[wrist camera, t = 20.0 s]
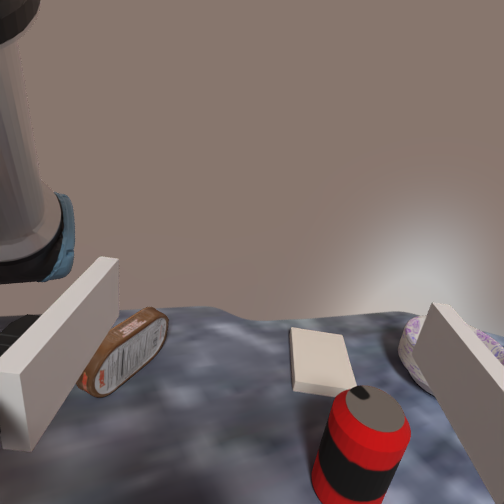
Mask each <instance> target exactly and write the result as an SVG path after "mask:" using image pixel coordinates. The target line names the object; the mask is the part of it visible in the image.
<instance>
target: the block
mask: <svg viewBox="0 0 504 504" xmlns="http://www.w3.org/2000/svg"><path fill="white" fill-rule="evenodd" d="M289 337H290V353H291V369H292V386H293V391H297V392H304V393H310V394H317V395H323V396H330V397H336V396H337V395H338V394H339V393H341V392H343V391H345V390H348V389H351V388H353V387H356V386H357V385H356V382H355V378H354V375H353V371H352V368H351V364H350V361H349V357H348V354H347V350H346V346H345V343H344V339H343V336H342V335H338V334H331V333H325V332H318V331H312V330H305V329H299V328H292V327H291V331H290V335H289Z"/></svg>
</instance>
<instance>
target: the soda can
mask: <svg viewBox="0 0 504 504" xmlns="http://www.w3.org/2000/svg"><path fill="white" fill-rule="evenodd" d="M410 437H411V430H410V426H409V423H408V421H407V419H406V417H405V415H404V412H403V410H402V408H401V406H400V405H399V404H398V402H397V401H396V400H395V399H394V398H393V397H391V396H390V395H389V394H387V393H386V392H384V391H382V390H380V389H377V388H375V387H371V386H363V385H362V386H356V387H353V388H351V389H348V390H345V391H343V392H341V393H339V394H338V395H337V396H336V398H335V400H334V402H333V405H332V408H331V411H330V414H329V418H328V421H327V424H326V427H325V431H324V434H323V437H322V440H321V443H320V447H319V450H318V453H317V456H316V459H315V463H314V466H313V470H312V483H313V487H314V490H315V492H316V494H317V496H318V498H319V499H320V501H321V502H322V503H323V504H381V503H382V501H383V498H384V496H385V494H386V492H387V490H388V487H389V485H390V483H391V481H392V479H393V476H394V474H395V472H396V470H397V467H398V465H399V463H400V461H401V459H402V456H403V454H404V452H405V450H406V448H407V445H408V443H409V441H410Z"/></svg>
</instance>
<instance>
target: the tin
mask: <svg viewBox="0 0 504 504" xmlns="http://www.w3.org/2000/svg"><path fill="white" fill-rule="evenodd" d="M168 321H169V319H168V317H167V316H166V315H165V314H163V313H161V312H159V311H157V310H156V309H155V308H153V307H146V308H144V309H142V310H140V311H139V312H137V313H136V314H134V315H132V316H131V317H129V318H128V319H126V320H125V321H123V322H121V323H120V324H118V325H117V326H115V327H113V328H112V329H110V330H109V332H108V334H107V335H106V337H105V338H104V340H103V341H102V343H101V344H100V346H99V348H98V349H97V351H96V352H95V354H94V355H93V357H92V358H91V360H90V362H89V363H88V365H87V366H86V368H85V369H84V371H83V372H82V374H81V376H80V377H79V379H78V380H77V382H76V384H77V386H78V388H79V389H81V390H84V391H86V392H87V393H89V394H90V395H92V396H94V397H105V396H107V395H109V394H111V393H112V392H114V391H115V390H116V389H117V388H119V387H120V386H121V385H122V384H124V383H125V382H126V381H127V380H128V379H130V378H131V377H132V376H133V375H134V374H136V373H137V372H138V371H139V370H140V369H142V368H143V367H144V366H145V365H146V364H148V363H149V362H150V361H151V360H152V359H153V358H154V357H155V356H156V355H157V353H158V352H159V351H160V349H161V347H162V346H163V344H164V342H165V339H166V336H167V330H168Z"/></svg>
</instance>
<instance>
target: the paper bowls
mask: <svg viewBox="0 0 504 504" xmlns="http://www.w3.org/2000/svg"><path fill="white" fill-rule="evenodd" d="M425 319H426V316H418V317H414V318H412V319H411V320H409V321H408V322H407V324H406V325H405V328H404V331H403V334H402V337H401V340H400V343H399V347H398V354H399V357H400V359H401V361H402V363H403V364H404V366H405V367H406V368H407V369H408V371H409V373H410V375H411V377H412V378H413V379H414V380H415V382H416V383H417V384H418V385H419V386H420V387H422V388H423V389H424V390H425V391H427V392H428V393H430V394H432V395H434V394H433V392H432V390H431V388H430V387H429V385H428V383H427V381H426V380H425V378H424V376H423V374H422V373H421V371H420V369H419V367H418V365H417V364H416V362H415V360H414V358H413V357H412V355H411V354H412V351H413V349H414V346H415V344H416V341H417V339H418V336H419V334H420V331H421V329H422V326H423V324H424V321H425ZM468 326H469V325H468ZM469 327H470V328H471V330H472V331H473V332H474V333H475V334H476V335H477V336H478V338H479V339H480V340H481V341H482V342H483V343H484V344H485V346H486V347H487V348H488V349H489V350H490V351H491V352H492V354H493V355H494V356H495V357H496V358H497V359H498V360H499V362H500V363H501V364H502V365H503V366H504V348H503V347H502V346H501V345H500V344H499V343H498V342H497V341H495V340H494V339H493V338H491V337H490V336H488V335H487V334H485V333H484V332H482V331H480V330H478V329H476V328H473V327H472V326H469Z"/></svg>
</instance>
